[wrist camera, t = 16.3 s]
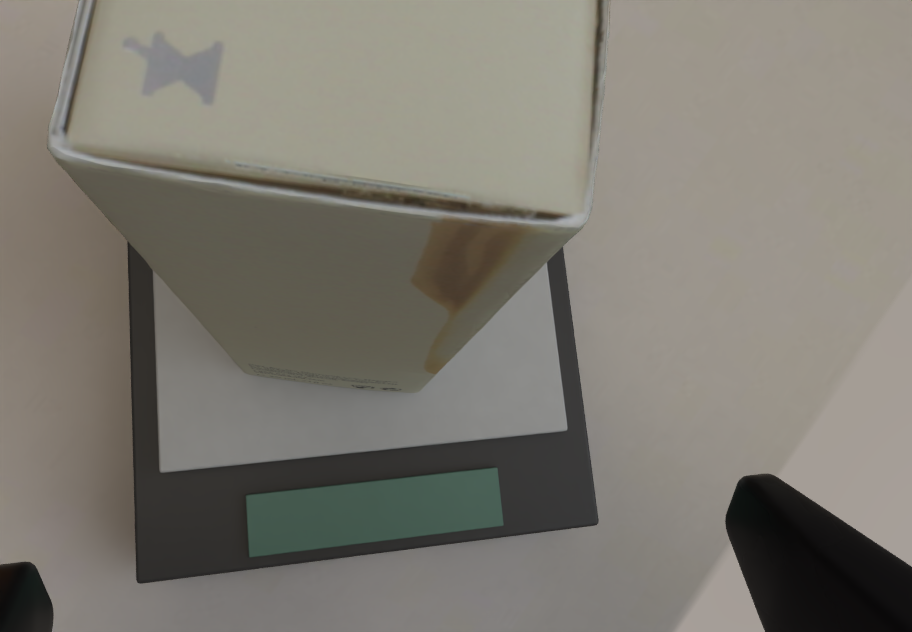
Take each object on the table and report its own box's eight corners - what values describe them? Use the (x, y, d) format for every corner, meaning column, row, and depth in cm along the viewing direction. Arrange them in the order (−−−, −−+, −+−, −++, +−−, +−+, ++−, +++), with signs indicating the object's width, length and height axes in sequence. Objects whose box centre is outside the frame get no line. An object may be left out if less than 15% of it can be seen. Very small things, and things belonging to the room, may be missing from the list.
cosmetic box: (423, 397, 18) (606, 279, 6) (238, 377, 17) (13, 196, 5) (449, 149, 19) (642, -368, 7) (278, 121, 18) (173, -495, 6)
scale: (572, 517, 20) (608, 527, 18) (158, 569, 19) (128, 589, 16) (521, 104, 23) (546, 56, 20) (143, 113, 21) (115, 61, 18)
